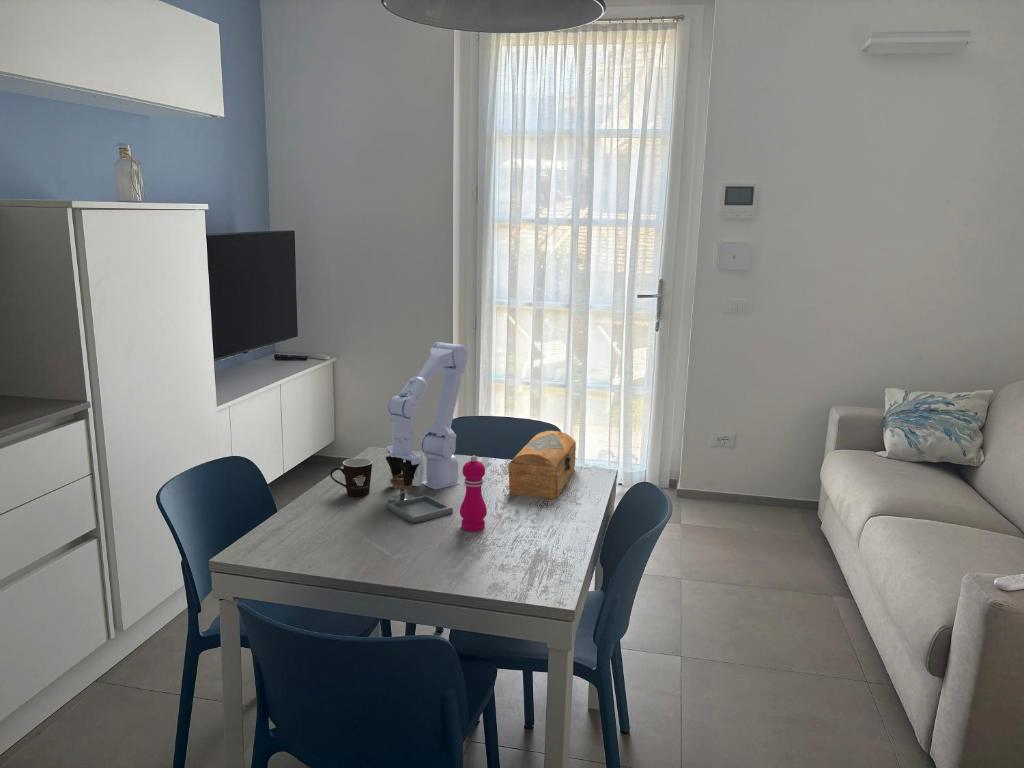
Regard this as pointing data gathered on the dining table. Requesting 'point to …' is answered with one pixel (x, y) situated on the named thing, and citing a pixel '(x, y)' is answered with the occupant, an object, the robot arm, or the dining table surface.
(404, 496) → the grey round piece
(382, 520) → the dining table surface
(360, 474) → the coffee mug
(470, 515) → the pepper mill
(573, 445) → the wooden box
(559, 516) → the dining table surface
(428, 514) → the tray
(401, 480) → the ring
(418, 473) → the salt and pepper shakers
